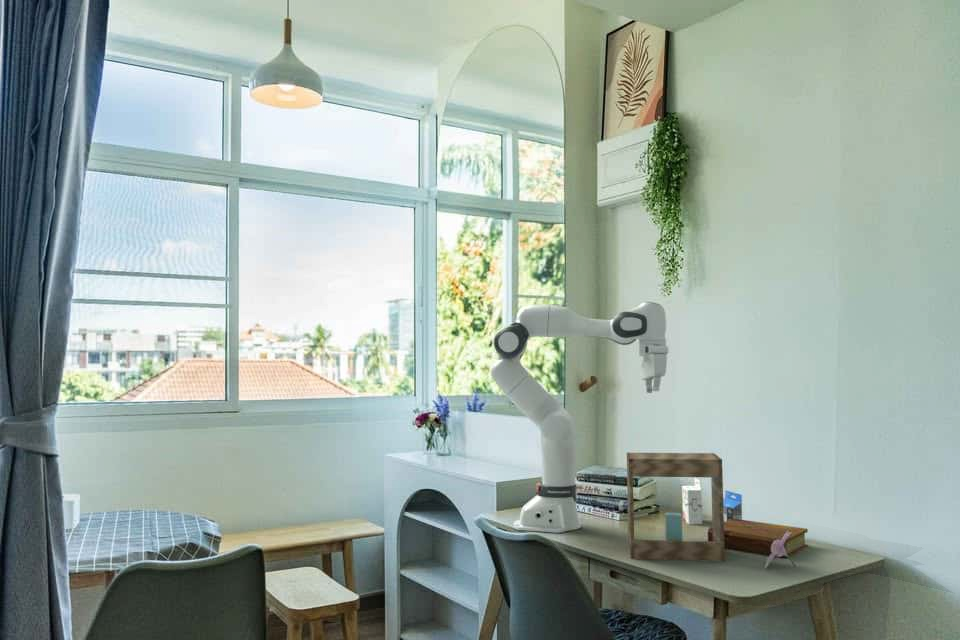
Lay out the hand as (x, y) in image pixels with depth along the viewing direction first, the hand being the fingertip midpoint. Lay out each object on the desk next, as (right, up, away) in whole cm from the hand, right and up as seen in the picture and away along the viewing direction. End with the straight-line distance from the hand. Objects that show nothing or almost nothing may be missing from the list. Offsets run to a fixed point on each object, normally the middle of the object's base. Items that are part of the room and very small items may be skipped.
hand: (652, 392), depth 253 cm
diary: (+26, -44, -24) cm, 57 cm away
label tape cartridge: (+24, -45, -4) cm, 51 cm away
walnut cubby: (-1, -44, -32) cm, 54 cm away
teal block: (-1, -44, -31) cm, 53 cm away
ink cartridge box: (+16, -46, +9) cm, 49 cm away
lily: (+24, -43, -46) cm, 67 cm away
